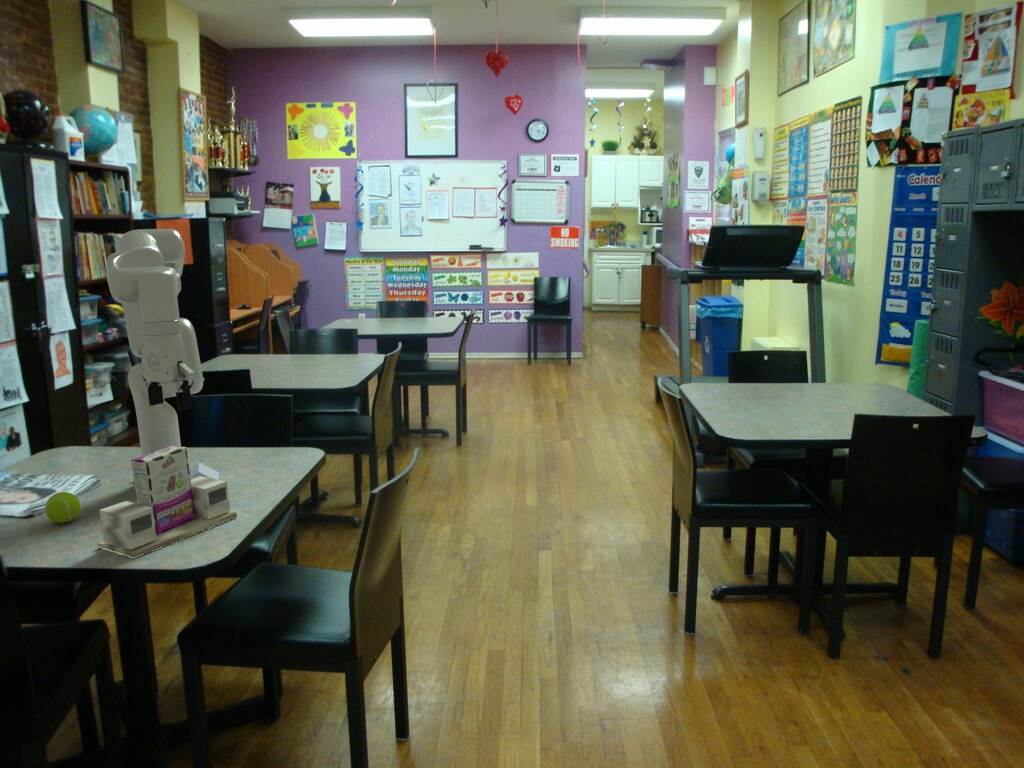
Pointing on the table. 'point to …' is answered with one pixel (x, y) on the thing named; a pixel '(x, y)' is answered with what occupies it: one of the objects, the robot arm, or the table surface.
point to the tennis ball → (62, 507)
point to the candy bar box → (165, 486)
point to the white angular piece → (203, 472)
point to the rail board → (135, 526)
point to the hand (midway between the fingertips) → (170, 406)
